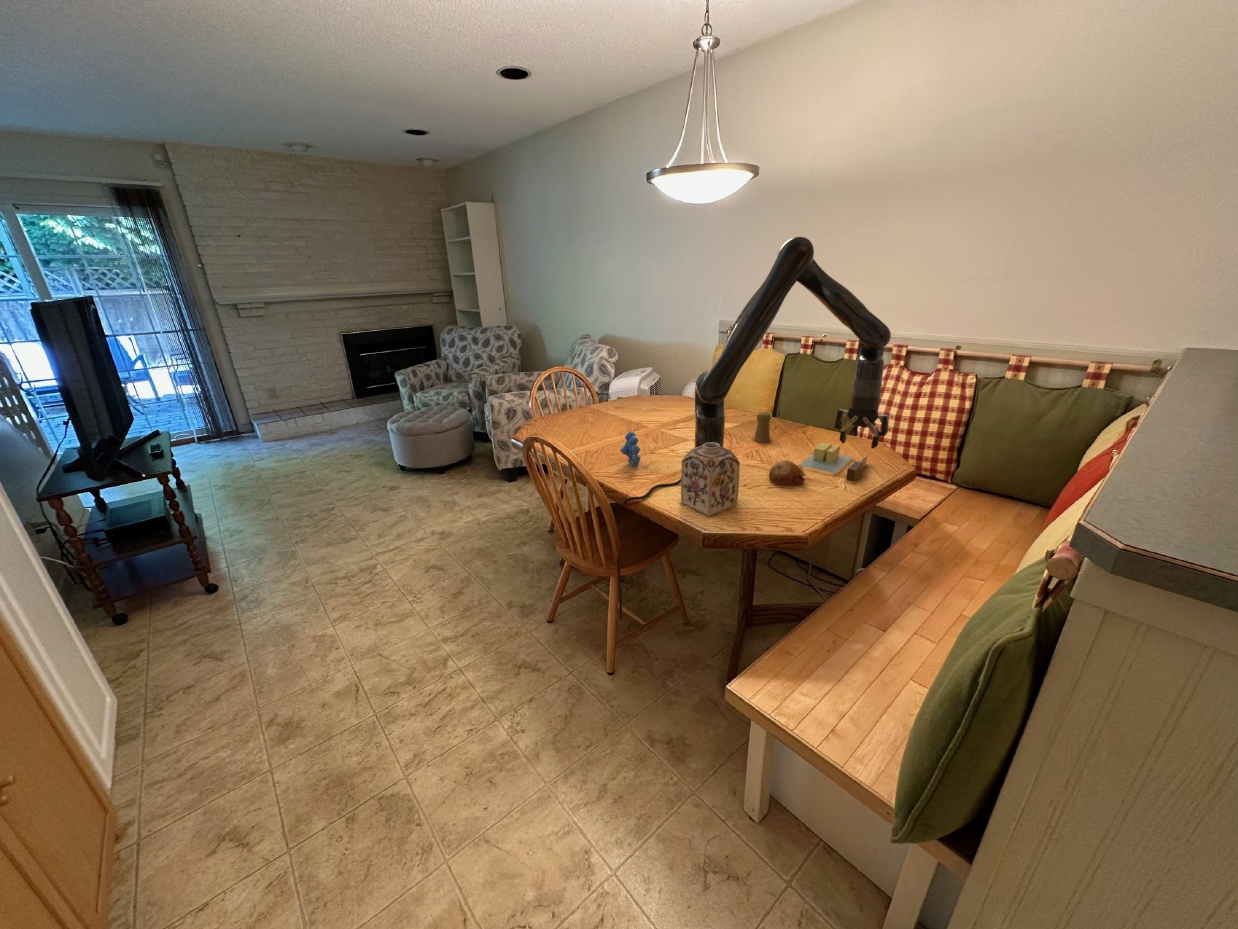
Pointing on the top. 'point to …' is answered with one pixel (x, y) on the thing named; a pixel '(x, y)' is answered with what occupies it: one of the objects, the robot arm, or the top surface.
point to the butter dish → (826, 463)
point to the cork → (762, 428)
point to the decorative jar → (710, 478)
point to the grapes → (631, 449)
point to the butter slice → (832, 453)
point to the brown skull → (786, 474)
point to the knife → (856, 469)
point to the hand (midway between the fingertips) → (858, 445)
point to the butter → (821, 451)
